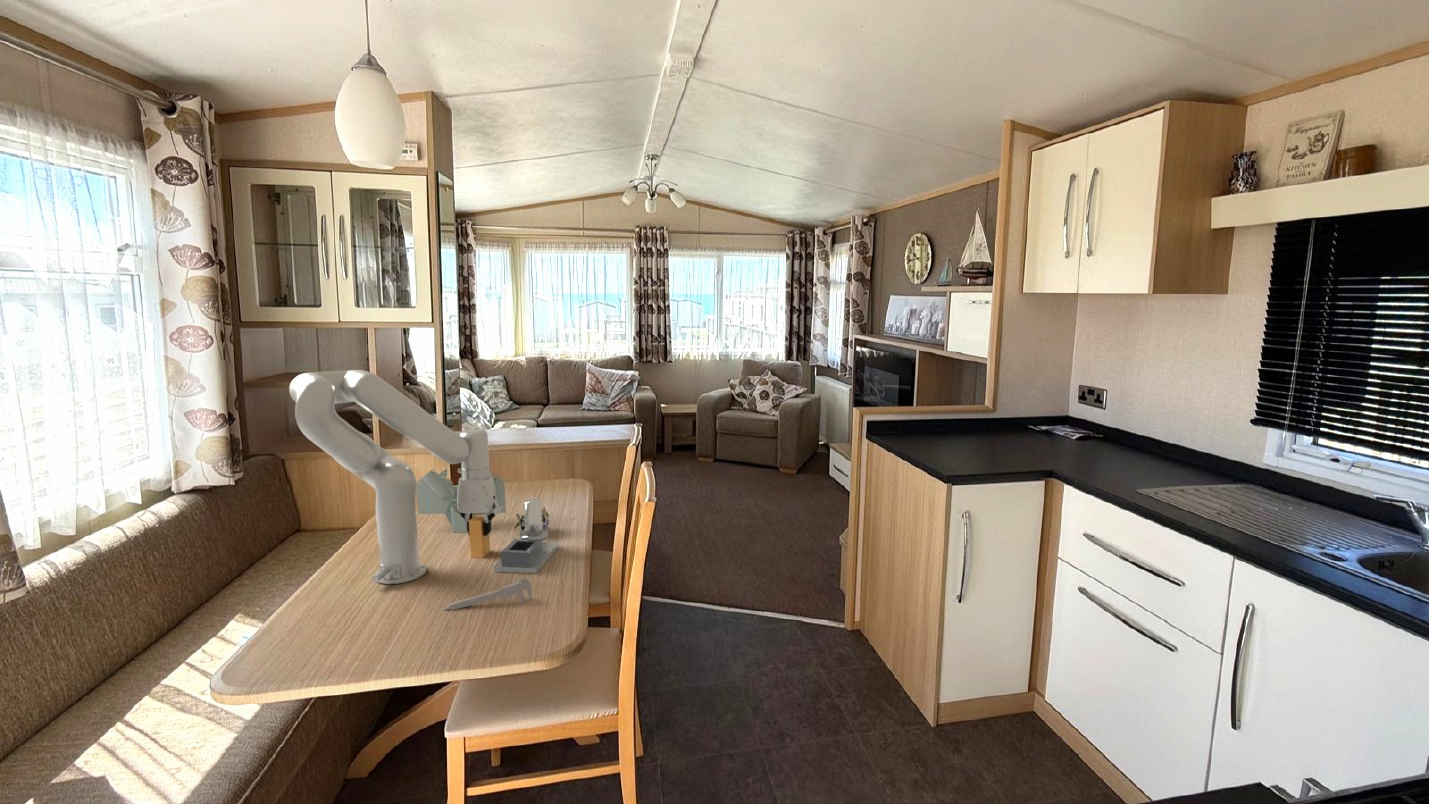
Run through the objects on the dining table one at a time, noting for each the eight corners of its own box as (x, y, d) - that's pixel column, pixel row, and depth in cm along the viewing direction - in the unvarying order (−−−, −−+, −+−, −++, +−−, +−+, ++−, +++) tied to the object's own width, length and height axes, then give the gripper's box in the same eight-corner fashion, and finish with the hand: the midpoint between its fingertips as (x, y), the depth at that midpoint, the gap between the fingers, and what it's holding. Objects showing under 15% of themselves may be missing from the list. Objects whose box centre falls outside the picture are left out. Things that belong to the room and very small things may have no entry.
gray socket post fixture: (536, 573, 181) (533, 518, 179) (493, 571, 183) (490, 517, 180) (559, 547, 200) (557, 497, 198) (520, 545, 201) (518, 496, 199)
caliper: (532, 599, 167) (531, 575, 166) (532, 601, 166) (531, 577, 165) (444, 609, 161) (442, 585, 160) (444, 611, 160) (442, 587, 159)
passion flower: (544, 551, 211) (546, 529, 203) (509, 546, 209) (510, 524, 201) (551, 522, 219) (553, 499, 211) (517, 517, 218) (518, 494, 210)
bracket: (509, 523, 220) (506, 464, 217) (503, 531, 213) (500, 470, 210) (424, 525, 219) (419, 465, 215) (415, 533, 212) (411, 471, 208)
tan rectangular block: (482, 557, 192) (480, 521, 190) (470, 557, 193) (468, 520, 191) (490, 551, 197) (488, 515, 195) (478, 550, 197) (476, 514, 196)
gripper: (441, 475, 188) (445, 537, 191) (498, 477, 186) (501, 540, 189) (454, 468, 195) (458, 528, 198) (509, 470, 194) (512, 530, 197)
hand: (479, 533), depth 194 cm, fingers open, 3 cm apart
